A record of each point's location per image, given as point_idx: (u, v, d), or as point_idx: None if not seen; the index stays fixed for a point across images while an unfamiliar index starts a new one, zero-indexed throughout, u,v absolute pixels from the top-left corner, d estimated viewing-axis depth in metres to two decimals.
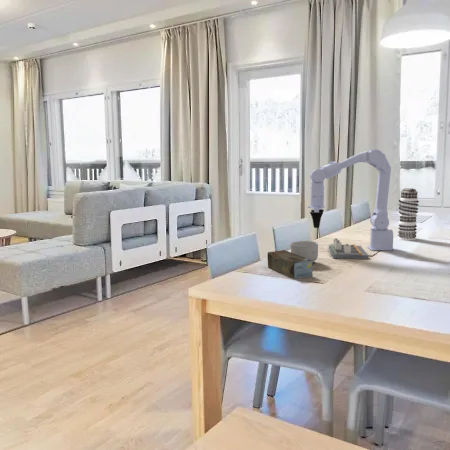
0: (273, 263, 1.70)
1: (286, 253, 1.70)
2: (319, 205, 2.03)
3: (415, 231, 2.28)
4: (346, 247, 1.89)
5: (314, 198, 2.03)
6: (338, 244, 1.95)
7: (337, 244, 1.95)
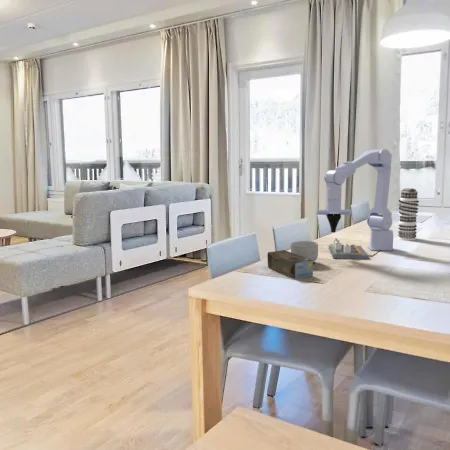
0: (274, 263, 1.70)
1: (286, 253, 1.70)
2: (328, 208, 1.89)
3: (415, 231, 2.28)
4: (346, 247, 1.89)
5: None
6: (338, 244, 1.95)
7: (337, 244, 1.95)
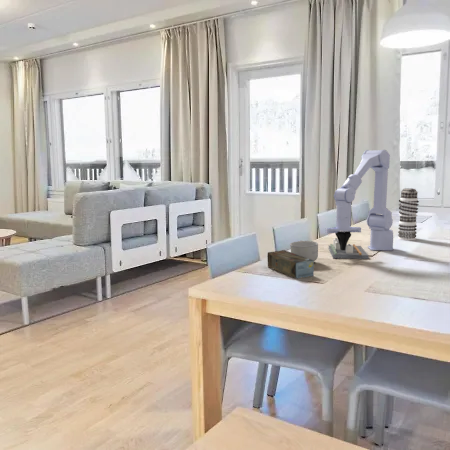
0: (274, 263, 1.70)
1: (286, 253, 1.70)
2: (338, 227, 1.88)
3: (415, 231, 2.28)
4: (348, 247, 1.88)
5: (336, 218, 1.90)
6: (338, 244, 1.95)
7: (337, 244, 1.95)
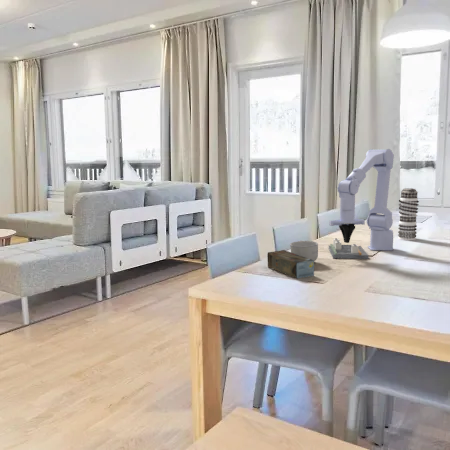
0: (274, 263, 1.69)
1: (286, 253, 1.70)
2: (342, 219, 1.87)
3: (415, 231, 2.28)
4: (354, 247, 1.88)
5: (340, 211, 1.89)
6: (338, 244, 1.95)
7: (337, 244, 1.95)
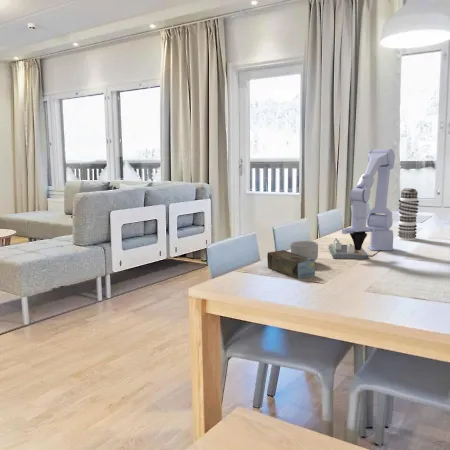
0: (274, 263, 1.69)
1: (286, 253, 1.70)
2: (354, 227, 1.87)
3: (415, 231, 2.28)
4: (350, 247, 1.88)
5: None
6: (338, 244, 1.95)
7: (337, 244, 1.95)
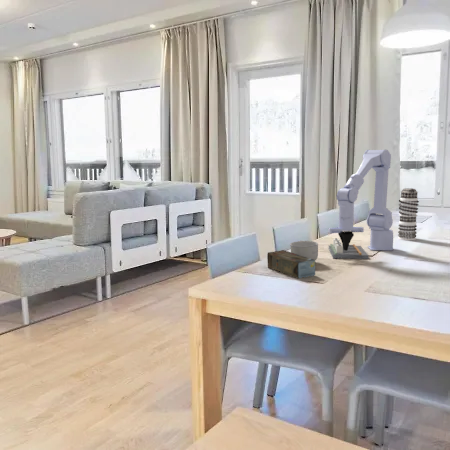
0: (274, 263, 1.69)
1: (287, 253, 1.70)
2: (341, 227, 1.88)
3: (415, 231, 2.28)
4: (338, 247, 1.89)
5: (339, 218, 1.89)
6: None
7: None
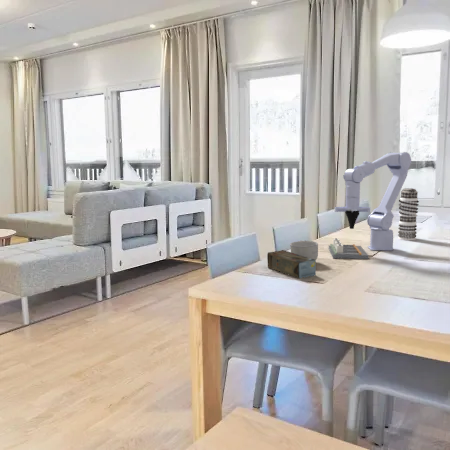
0: (275, 263, 1.69)
1: (287, 253, 1.70)
2: (346, 206, 1.96)
3: (415, 231, 2.28)
4: (338, 247, 1.89)
5: None
6: None
7: None
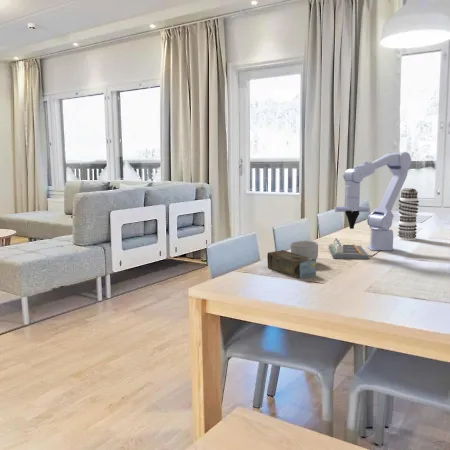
0: (275, 263, 1.69)
1: (287, 253, 1.70)
2: (346, 206, 1.96)
3: (415, 231, 2.28)
4: (338, 247, 1.89)
5: None
6: None
7: None
